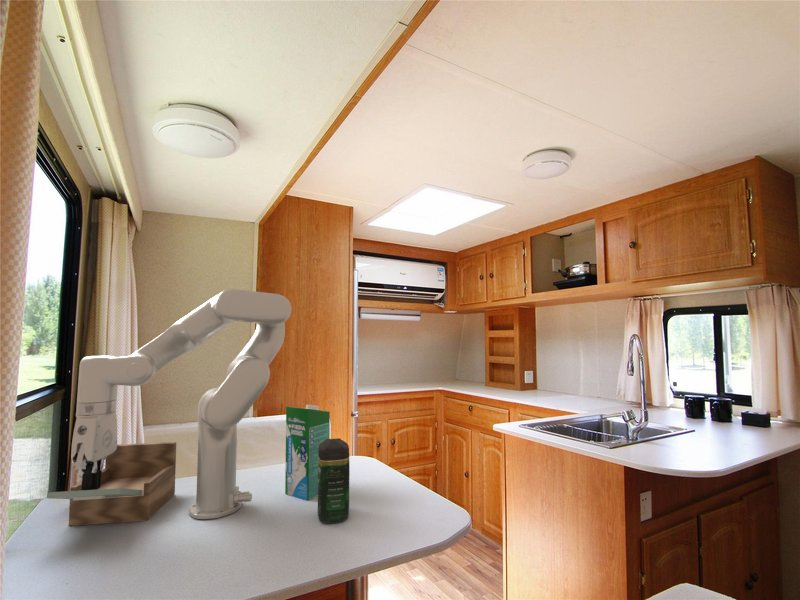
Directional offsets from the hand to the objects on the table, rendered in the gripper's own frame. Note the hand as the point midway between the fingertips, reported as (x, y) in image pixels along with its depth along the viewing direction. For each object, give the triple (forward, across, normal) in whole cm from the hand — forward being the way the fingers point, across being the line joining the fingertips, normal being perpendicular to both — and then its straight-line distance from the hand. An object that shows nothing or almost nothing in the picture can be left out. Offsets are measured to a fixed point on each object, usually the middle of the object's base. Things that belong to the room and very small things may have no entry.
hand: (91, 489), depth 93 cm
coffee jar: (+10, +2, -56) cm, 56 cm away
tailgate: (+5, +7, 0) cm, 9 cm away
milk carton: (+10, +19, -48) cm, 52 cm away
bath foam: (+11, +22, +14) cm, 28 cm away
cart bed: (+11, +15, 0) cm, 19 cm away
